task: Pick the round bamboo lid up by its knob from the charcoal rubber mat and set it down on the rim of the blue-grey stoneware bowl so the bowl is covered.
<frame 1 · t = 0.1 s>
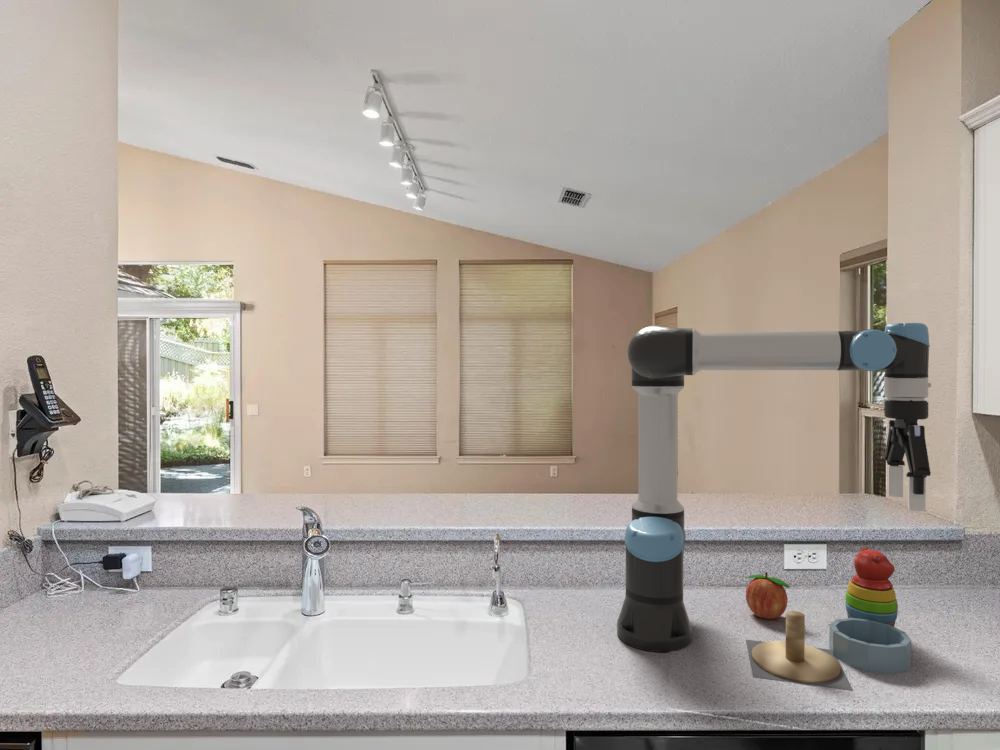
hand: (905, 503, 128), 28 cm above the worktop, fingers open, 13 cm apart
bowl: (869, 657, 120), on the worktop
lid: (794, 662, 117), resting on mat
fruit: (765, 617, 140), on the worktop
stacking bear: (872, 636, 130), on the worktop
mat: (794, 664, 117), on the worktop
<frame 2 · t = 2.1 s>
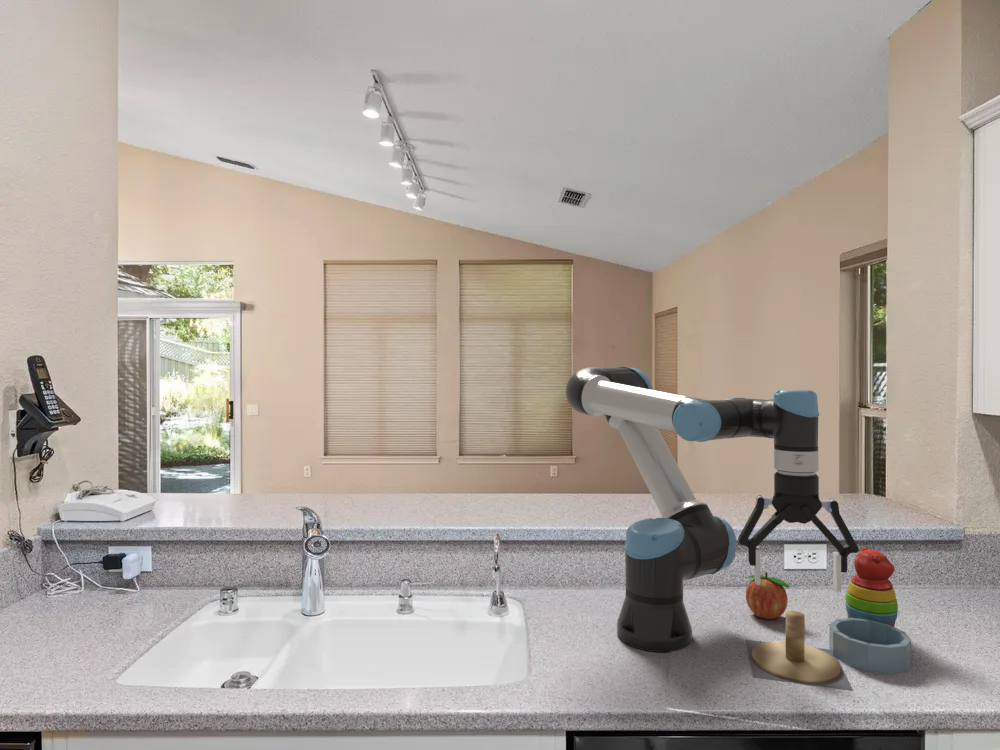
hand: (796, 586, 117), 15 cm above the worktop, fingers open, 13 cm apart
nothing on the worktop moved.
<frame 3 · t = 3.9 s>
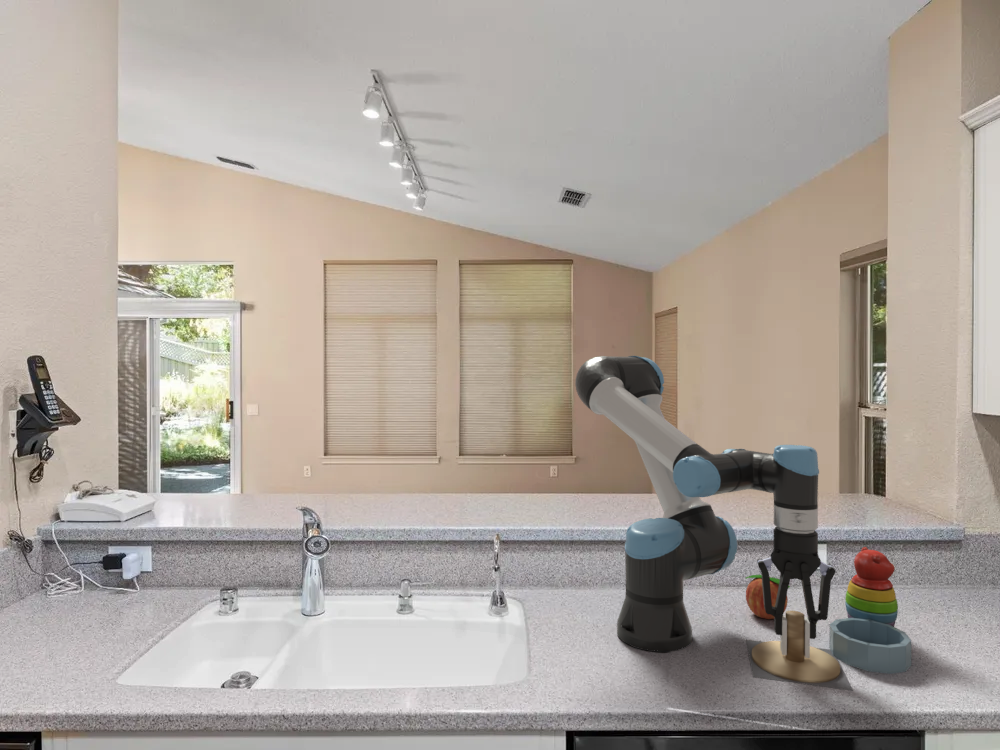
hand: (794, 652, 117), 2 cm above the worktop, fingers closed on lid, 3 cm apart
lid: (794, 662, 117), resting on mat, touching gripper
everything else where it was.
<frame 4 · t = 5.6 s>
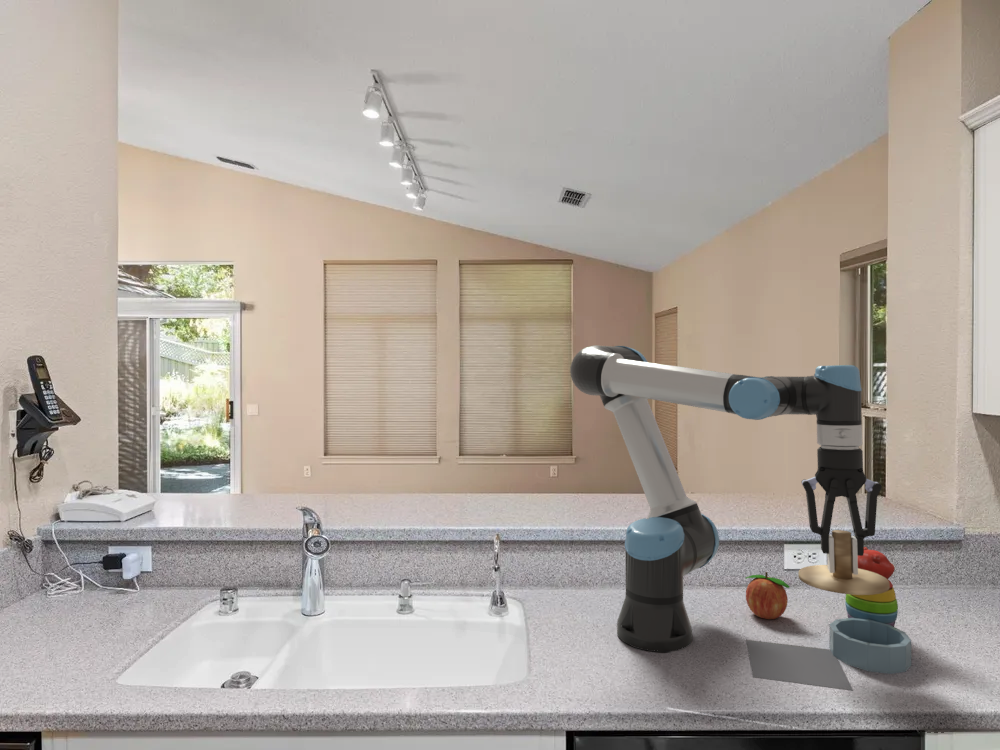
hand: (842, 571, 118), 17 cm above the worktop, fingers closed on lid, 3 cm apart
lid: (842, 581, 118), point 15 cm above the worktop, touching gripper
everything else where it was.
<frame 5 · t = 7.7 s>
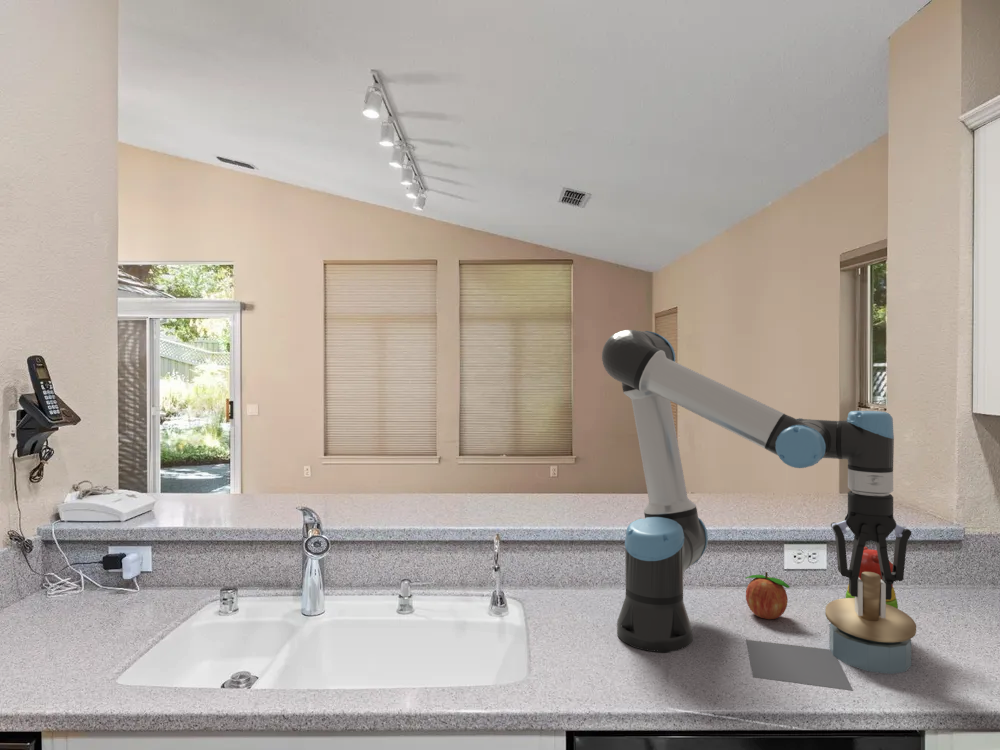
hand: (869, 614, 120), 8 cm above the worktop, fingers closed on lid, 3 cm apart
lid: (869, 620, 120), point 7 cm above the worktop, tilted 7°, touching gripper, stacking bear
stacking bear: (872, 636, 130), on the worktop, touching lid
everything else where it was.
when the fingers open (8 cm above the worktop, at t = 7.7 s): lid drops 1 cm, resting on bowl.
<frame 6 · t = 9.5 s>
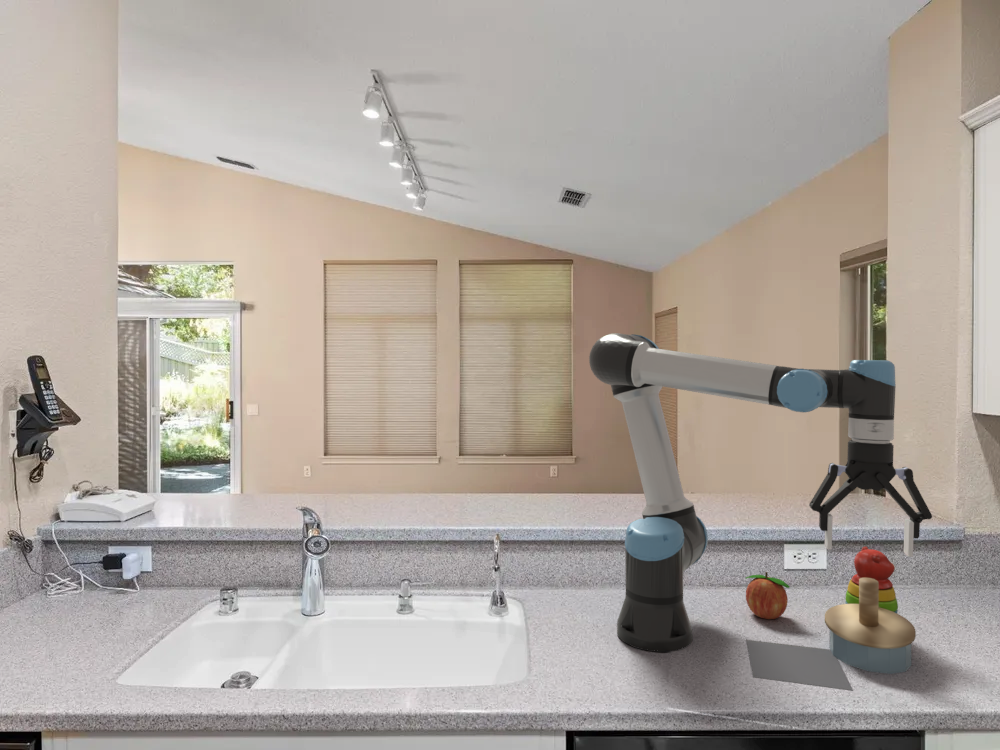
hand: (867, 551, 120), 20 cm above the worktop, fingers open, 13 cm apart
lid: (868, 626, 120), point 6 cm above the worktop, tilted 7°, touching bowl
stacking bear: (872, 635, 130), on the worktop
everything else where it was.
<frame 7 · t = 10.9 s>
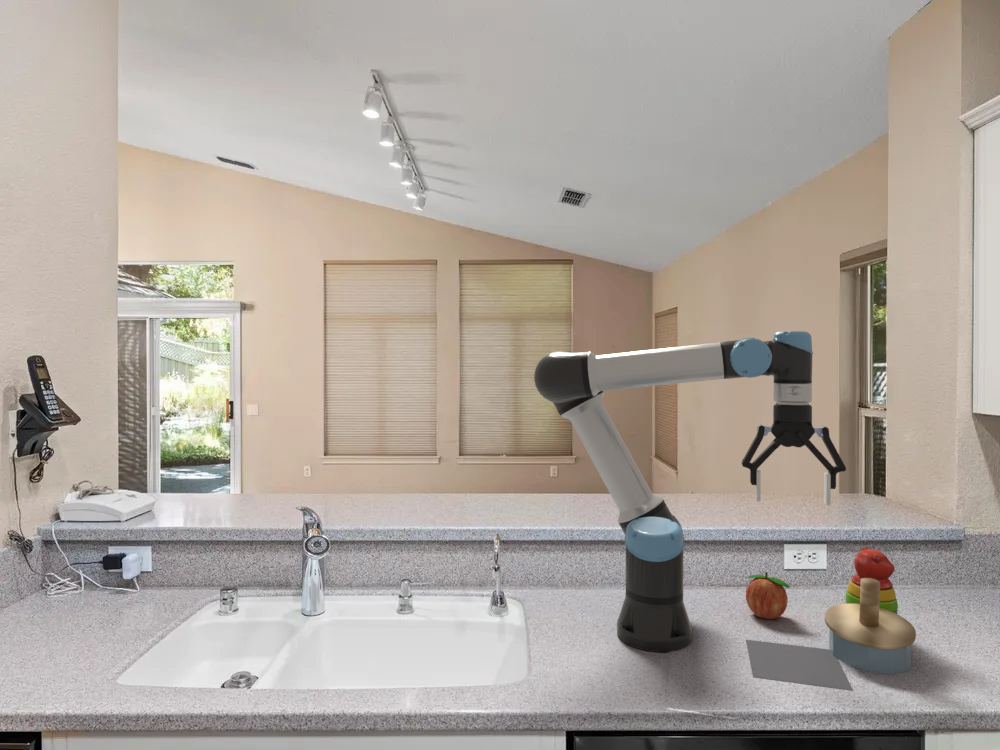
hand: (792, 502, 134), 27 cm above the worktop, fingers open, 13 cm apart
lid: (868, 626, 120), point 6 cm above the worktop, tilted 7°, touching bowl, stacking bear
stacking bear: (872, 635, 130), on the worktop, touching lid
everything else where it was.
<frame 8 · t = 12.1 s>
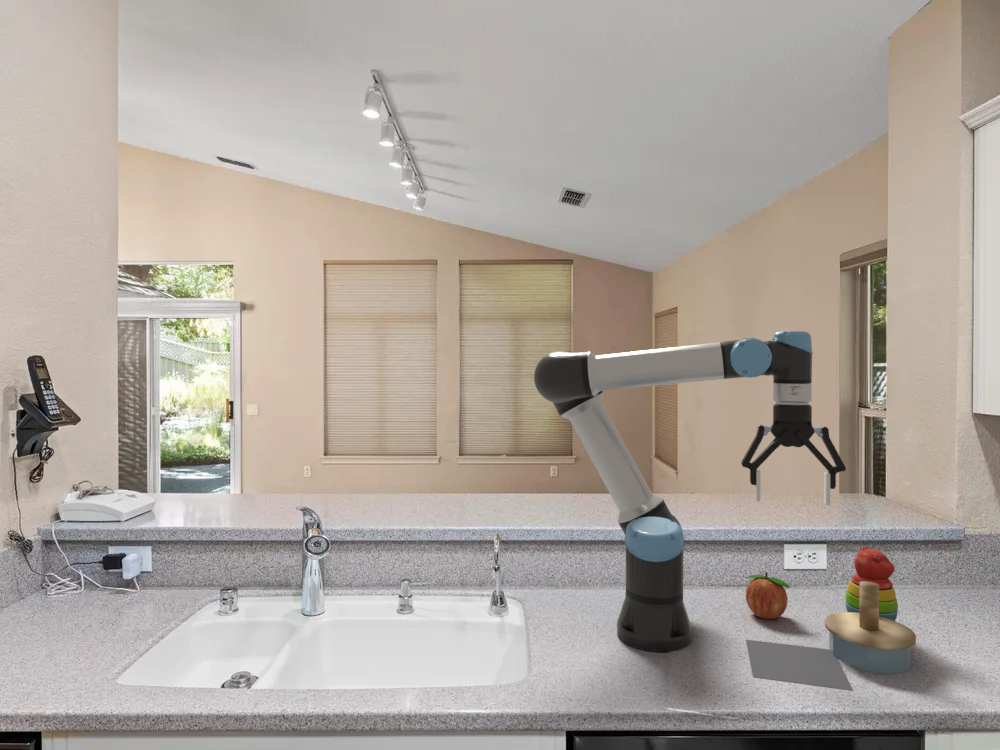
hand: (791, 502, 134), 27 cm above the worktop, fingers open, 13 cm apart
lid: (869, 631, 120), point 5 cm above the worktop, touching bowl
stacking bear: (872, 635, 130), on the worktop
everything else where it was.
at the end: lid 0.0 cm off-centre on the bowl, point 5.0 cm above the bowl's base; lid tilted 0°; the gripper is holding nothing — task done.
